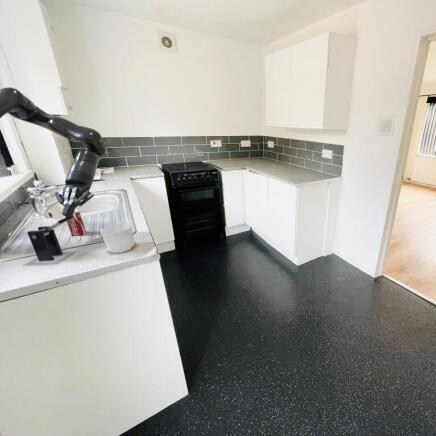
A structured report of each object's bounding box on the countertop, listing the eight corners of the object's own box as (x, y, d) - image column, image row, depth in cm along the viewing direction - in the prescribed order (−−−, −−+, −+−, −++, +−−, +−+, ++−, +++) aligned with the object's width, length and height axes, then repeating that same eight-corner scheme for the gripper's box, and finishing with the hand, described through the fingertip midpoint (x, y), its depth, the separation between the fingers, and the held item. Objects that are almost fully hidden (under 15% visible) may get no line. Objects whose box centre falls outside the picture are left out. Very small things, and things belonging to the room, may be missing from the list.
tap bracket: (74, 254, 95) (63, 224, 91) (57, 265, 88) (44, 233, 83) (48, 255, 95) (35, 225, 90) (28, 266, 87) (13, 233, 83)
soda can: (70, 239, 109) (61, 213, 105) (74, 234, 114) (66, 210, 110) (84, 237, 111) (76, 212, 107) (88, 233, 116) (80, 209, 112)
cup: (130, 255, 94) (123, 232, 91) (101, 258, 93) (94, 234, 89) (141, 244, 103) (135, 222, 100) (115, 246, 102) (109, 224, 98)
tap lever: (74, 219, 89) (69, 213, 88) (63, 224, 84) (58, 218, 83) (47, 235, 90) (42, 230, 90) (35, 240, 86) (29, 235, 85)
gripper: (105, 180, 98) (93, 219, 90) (71, 181, 97) (55, 220, 90) (92, 169, 91) (77, 210, 83) (55, 169, 90) (37, 211, 83)
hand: (66, 215), depth 87 cm, fingers closed
